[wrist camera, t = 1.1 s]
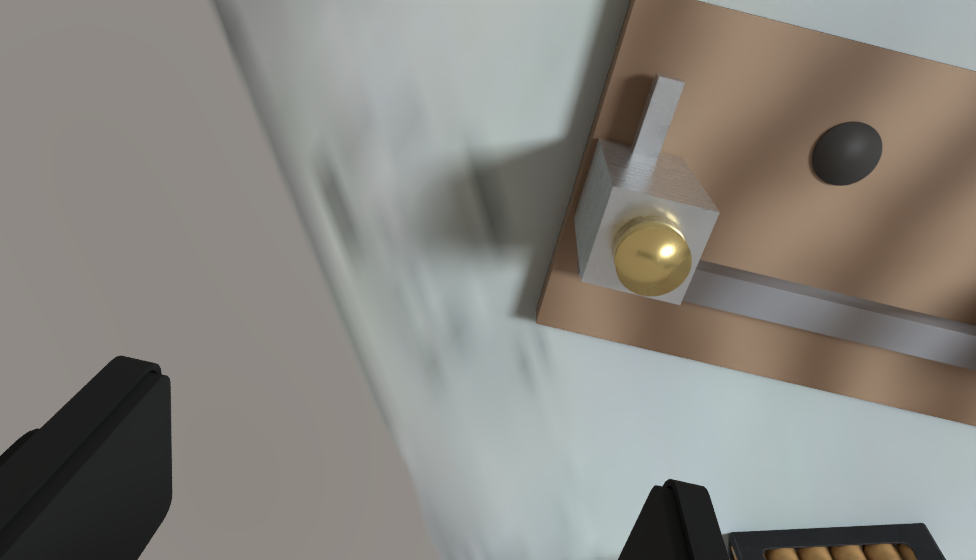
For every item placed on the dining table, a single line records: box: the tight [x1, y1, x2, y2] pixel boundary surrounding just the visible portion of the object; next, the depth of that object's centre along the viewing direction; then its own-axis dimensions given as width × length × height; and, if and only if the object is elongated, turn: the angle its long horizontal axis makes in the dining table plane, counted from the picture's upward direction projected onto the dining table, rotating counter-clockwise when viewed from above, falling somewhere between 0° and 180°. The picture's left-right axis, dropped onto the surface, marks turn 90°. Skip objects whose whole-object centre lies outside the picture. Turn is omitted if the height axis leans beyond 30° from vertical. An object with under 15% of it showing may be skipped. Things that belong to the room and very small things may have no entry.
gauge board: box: [536, 0, 976, 426], centre depth 25 cm, size 28×15×8 cm, turn 77°
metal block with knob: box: [574, 73, 720, 305], centre depth 23 cm, size 4×7×7 cm, turn 168°
